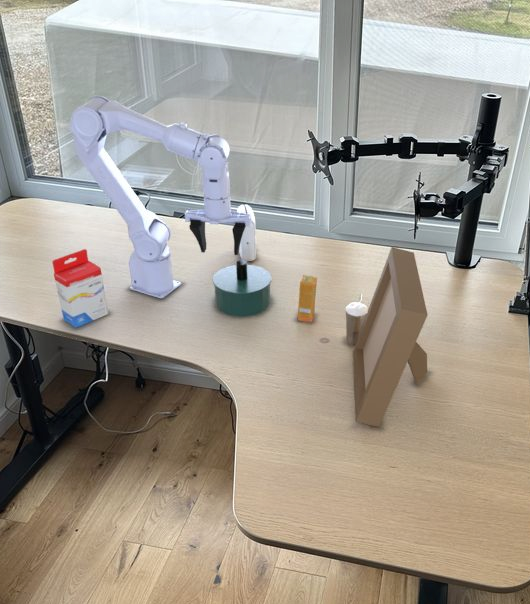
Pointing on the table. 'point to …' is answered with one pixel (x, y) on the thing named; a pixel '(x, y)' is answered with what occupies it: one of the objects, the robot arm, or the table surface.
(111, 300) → the table surface
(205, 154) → the robot arm
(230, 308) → the tin
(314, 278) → the supplement box
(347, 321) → the milkshake
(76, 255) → the ink box
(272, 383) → the table surface
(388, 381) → the photo frame
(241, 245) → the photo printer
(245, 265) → the lid
